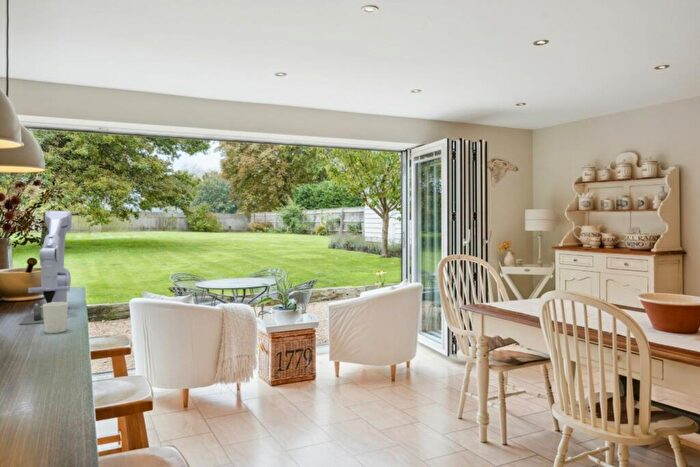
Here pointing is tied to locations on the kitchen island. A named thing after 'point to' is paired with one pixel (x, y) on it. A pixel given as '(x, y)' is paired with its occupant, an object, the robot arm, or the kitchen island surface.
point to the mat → (31, 320)
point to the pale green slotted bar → (42, 311)
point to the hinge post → (36, 312)
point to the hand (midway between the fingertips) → (49, 309)
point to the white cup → (55, 316)
